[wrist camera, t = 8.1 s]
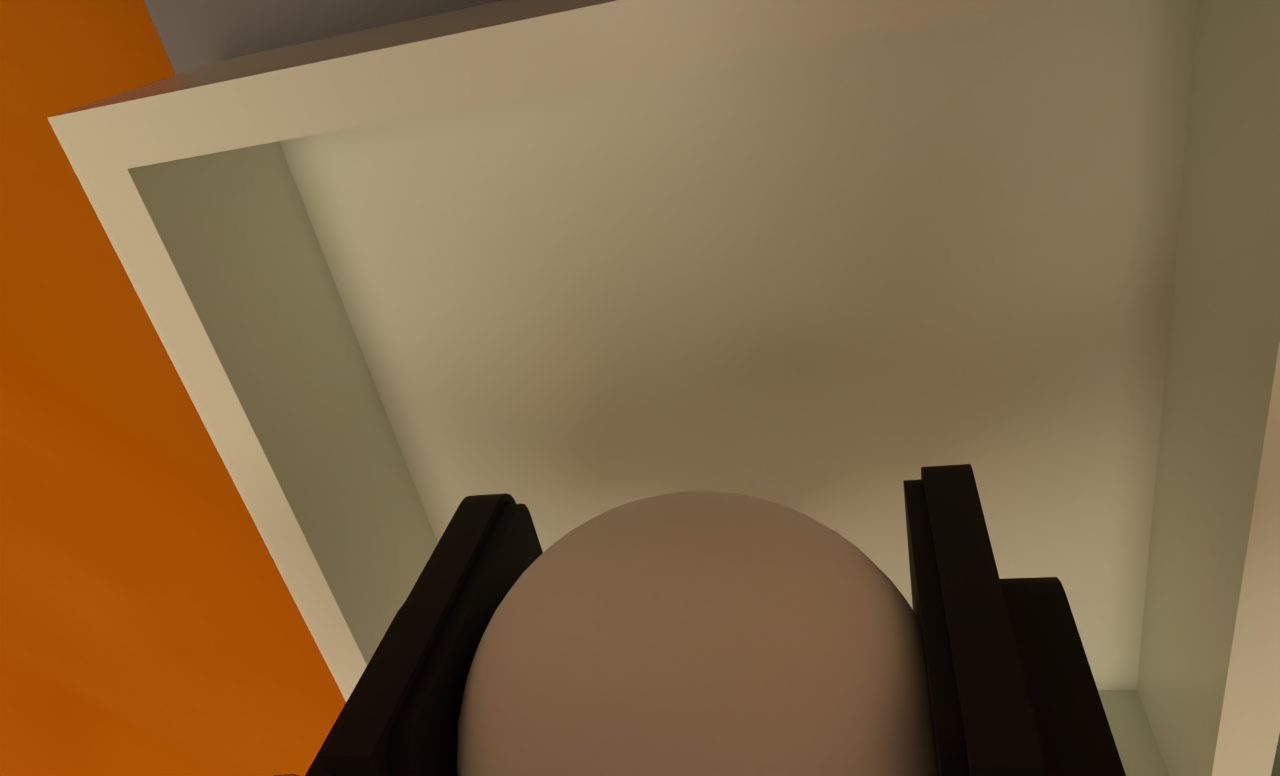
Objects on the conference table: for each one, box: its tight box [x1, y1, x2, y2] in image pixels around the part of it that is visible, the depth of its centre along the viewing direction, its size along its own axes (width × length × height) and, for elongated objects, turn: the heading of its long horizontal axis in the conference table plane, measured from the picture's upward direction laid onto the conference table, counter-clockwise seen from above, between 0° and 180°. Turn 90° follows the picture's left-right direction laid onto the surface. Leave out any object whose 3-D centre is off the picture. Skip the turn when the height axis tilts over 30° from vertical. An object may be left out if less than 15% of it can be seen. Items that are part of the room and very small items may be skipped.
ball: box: [457, 491, 937, 776], centre depth 9 cm, size 5×5×5 cm
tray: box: [47, 0, 1280, 776], centre depth 13 cm, size 13×13×3 cm
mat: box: [143, 0, 502, 75], centre depth 13 cm, size 17×27×1 cm, turn 102°
